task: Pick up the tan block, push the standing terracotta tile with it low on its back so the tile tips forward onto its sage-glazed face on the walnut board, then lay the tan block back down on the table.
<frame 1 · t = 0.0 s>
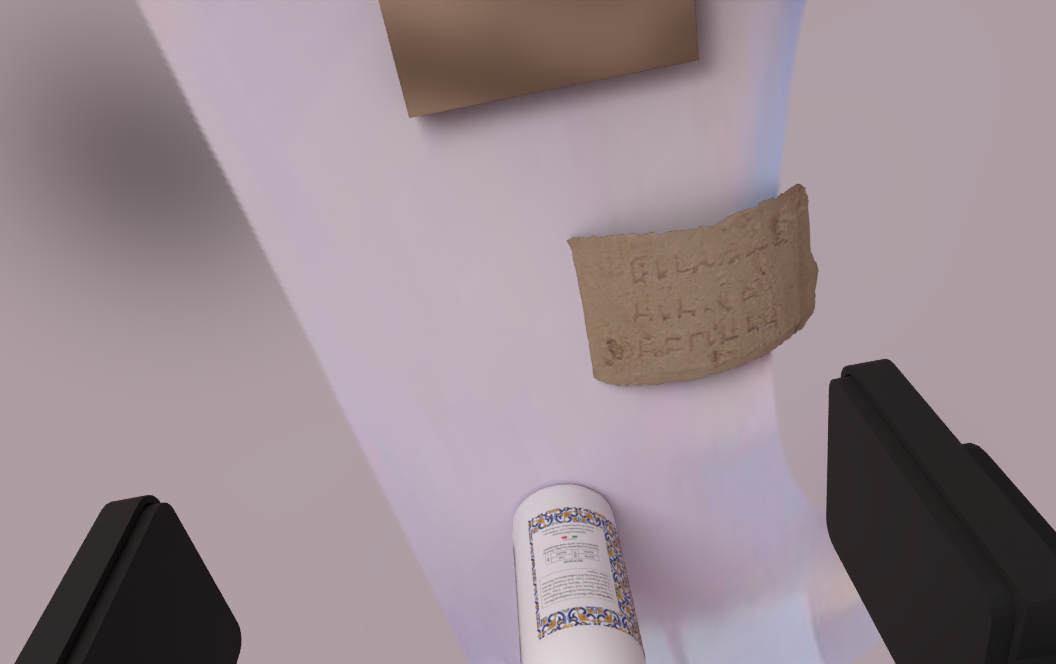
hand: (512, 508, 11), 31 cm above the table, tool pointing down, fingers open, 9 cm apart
clay tablet: (686, 281, 46), on the table
bath foam: (562, 516, 54), on the table
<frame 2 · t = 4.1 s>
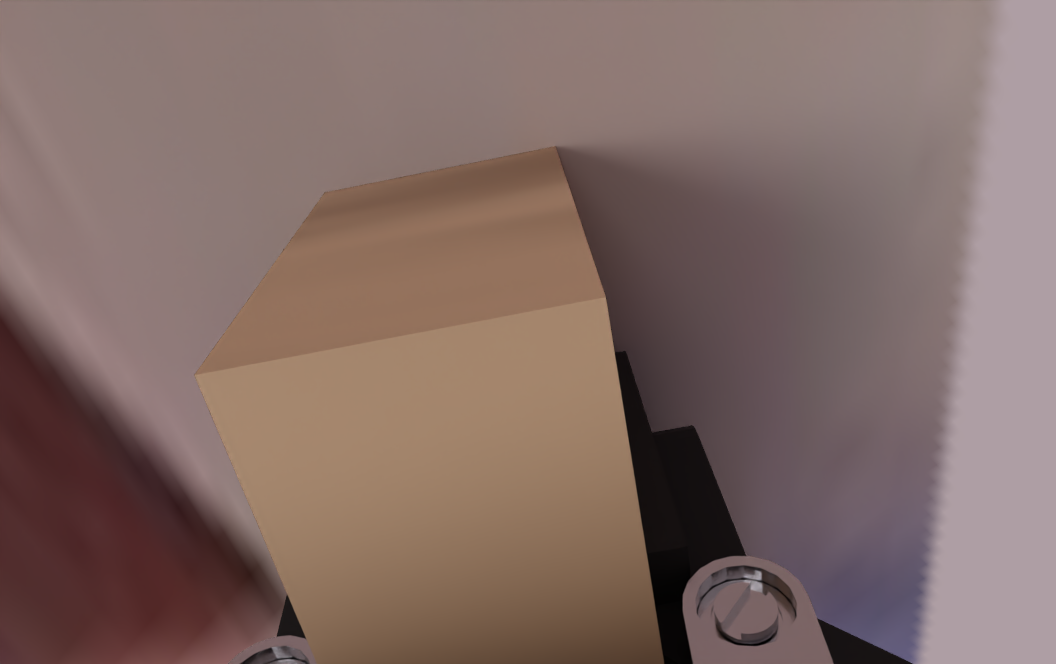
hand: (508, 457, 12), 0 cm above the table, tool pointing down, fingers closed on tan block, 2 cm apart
tan block: (538, 578, 13), point 1 cm above the table, tilted 6°, touching gripper
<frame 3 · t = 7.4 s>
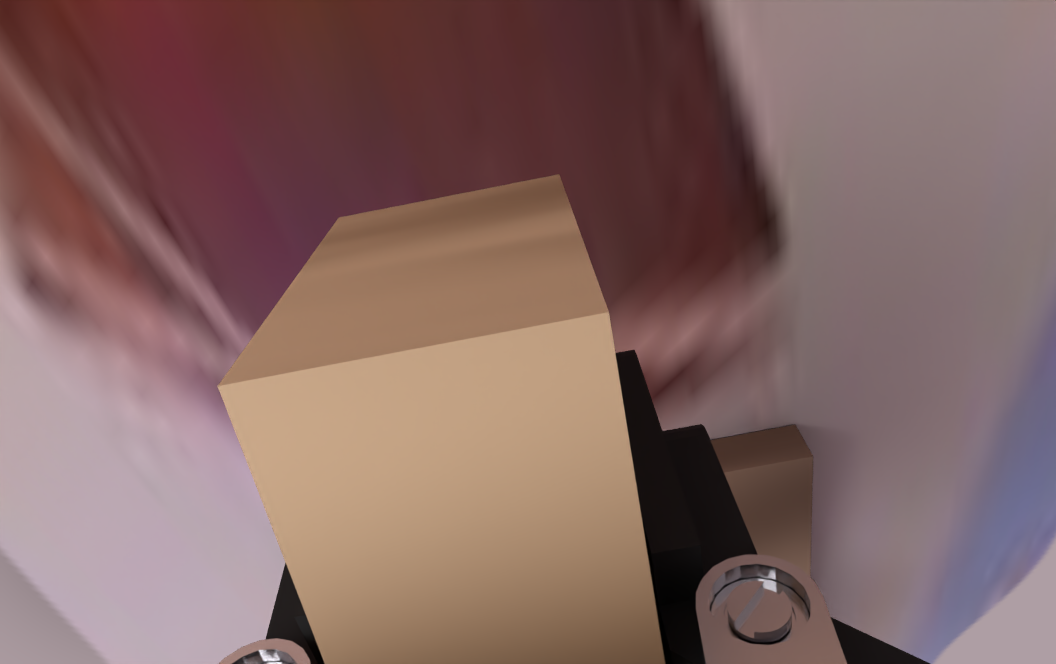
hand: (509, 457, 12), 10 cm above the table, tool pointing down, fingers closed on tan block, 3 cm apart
walnut board: (607, 621, 30), on the table
tan block: (542, 601, 13), point 10 cm above the table, tilted 10°, touching gripper
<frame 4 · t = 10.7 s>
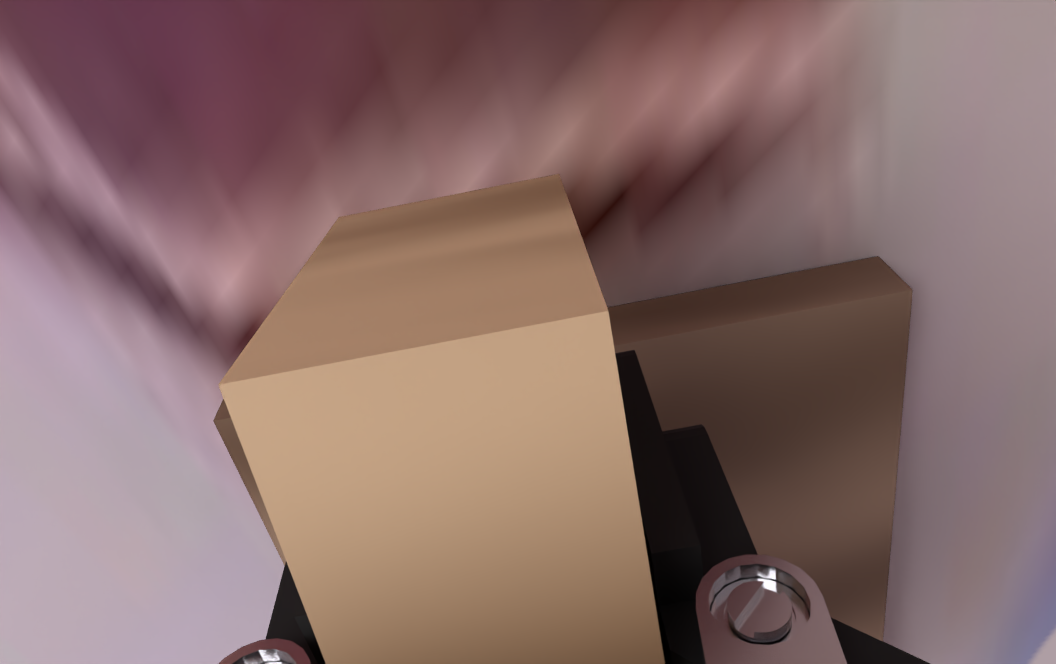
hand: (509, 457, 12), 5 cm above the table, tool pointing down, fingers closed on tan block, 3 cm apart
walnut board: (599, 573, 21), on the table
tan block: (542, 600, 13), point 6 cm above the table, tilted 8°, touching gripper
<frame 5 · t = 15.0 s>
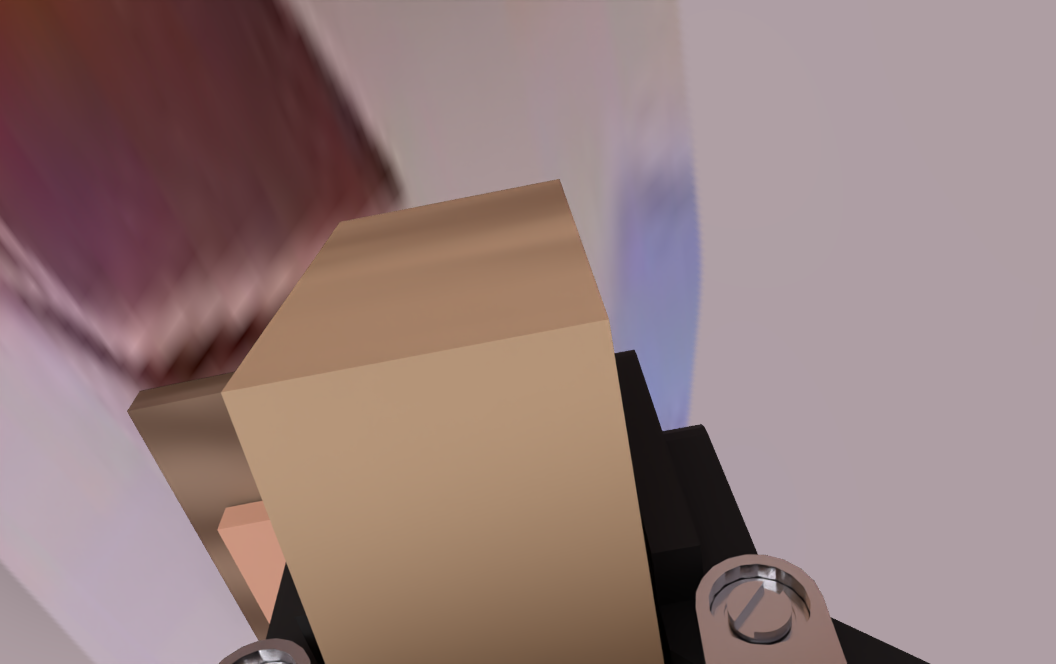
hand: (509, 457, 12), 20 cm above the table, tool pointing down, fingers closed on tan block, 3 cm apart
walnut board: (350, 494, 38), on the table
glazed tile: (307, 502, 35), point 2 cm above the table, tilted 90°, touching walnut board
tan block: (542, 603, 13), point 20 cm above the table, tilted 8°, touching gripper
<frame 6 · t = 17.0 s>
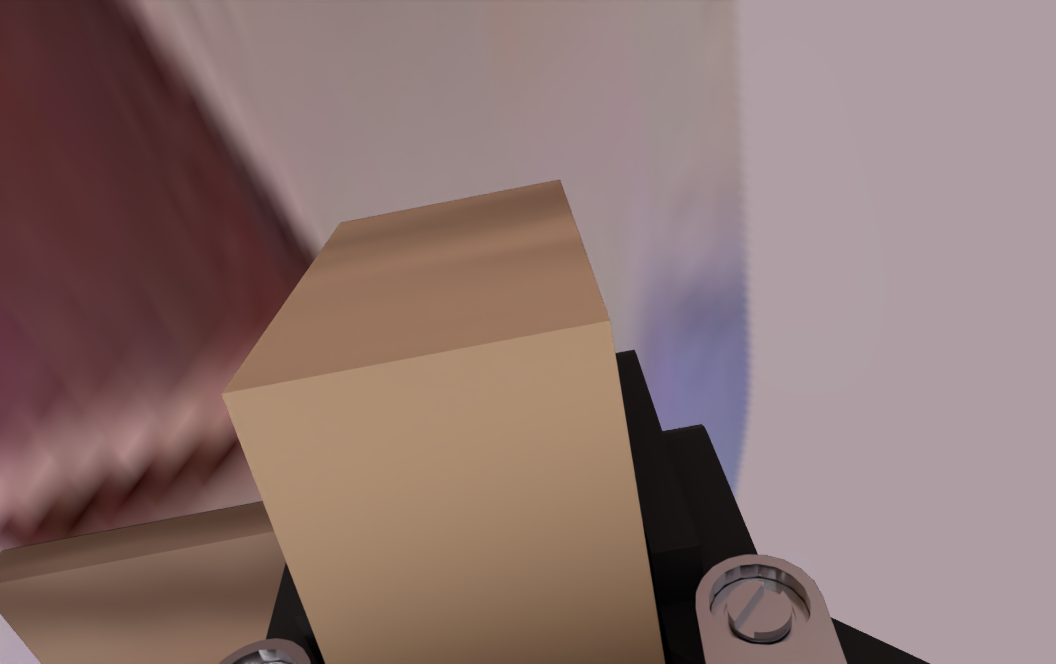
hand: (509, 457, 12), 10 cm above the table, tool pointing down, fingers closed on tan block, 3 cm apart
walnut board: (289, 661, 30), on the table
tan block: (543, 604, 13), point 11 cm above the table, tilted 9°, touching gripper
when the fingers open (2 cm above the table, at t = 18.8 s): tan block drops 2 cm, on the table.
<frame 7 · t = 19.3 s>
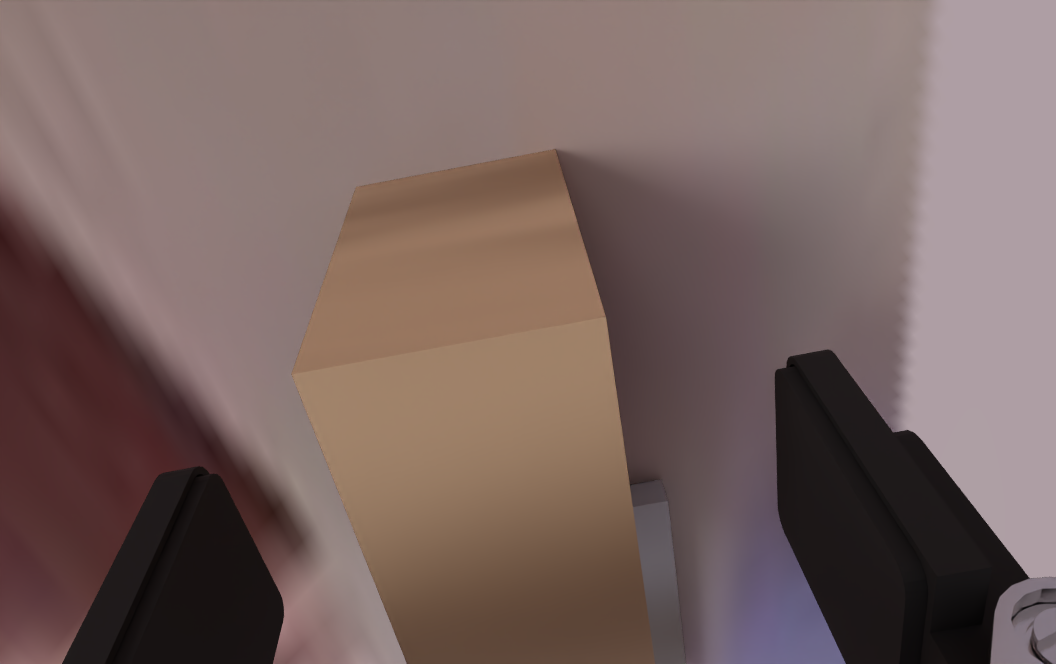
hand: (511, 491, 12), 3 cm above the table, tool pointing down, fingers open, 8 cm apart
tan block: (534, 511, 15), on the table
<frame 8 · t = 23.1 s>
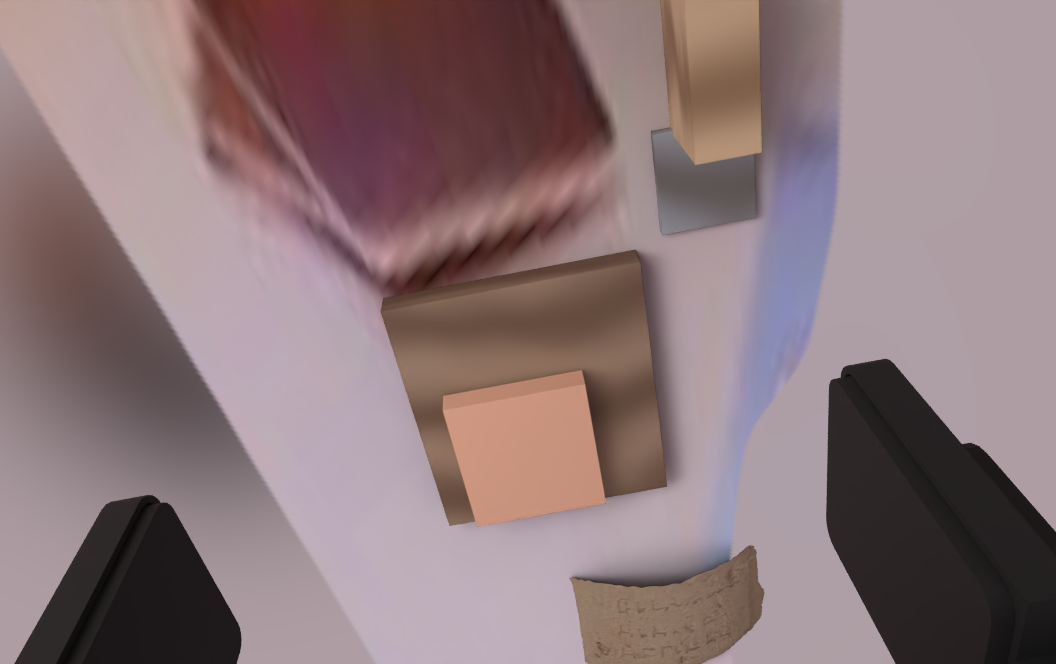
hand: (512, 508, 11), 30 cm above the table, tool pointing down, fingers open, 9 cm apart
walnut board: (534, 391, 47), on the table
glazed tile: (512, 390, 44), point 2 cm above the table, tilted 90°, touching walnut board
clay tablet: (661, 597, 59), on the table
tan block: (700, 126, 40), on the table
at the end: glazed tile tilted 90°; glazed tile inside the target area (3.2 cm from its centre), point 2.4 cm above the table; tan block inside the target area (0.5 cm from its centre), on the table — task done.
